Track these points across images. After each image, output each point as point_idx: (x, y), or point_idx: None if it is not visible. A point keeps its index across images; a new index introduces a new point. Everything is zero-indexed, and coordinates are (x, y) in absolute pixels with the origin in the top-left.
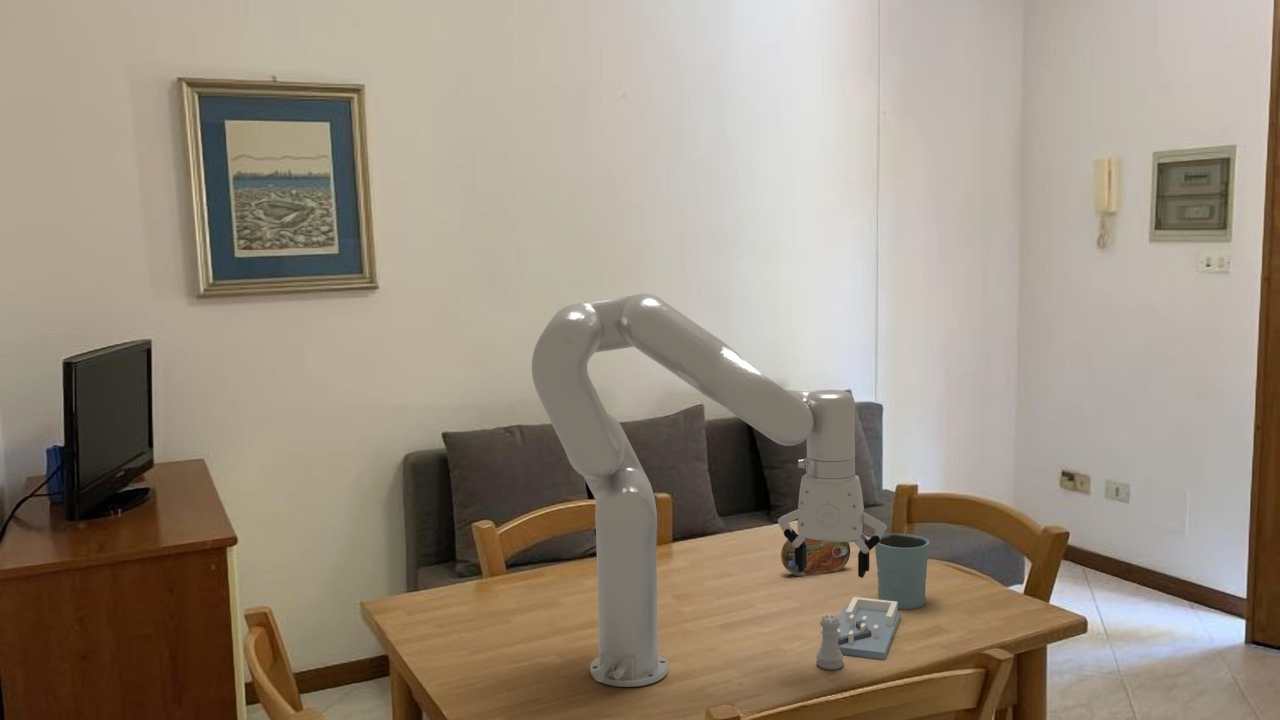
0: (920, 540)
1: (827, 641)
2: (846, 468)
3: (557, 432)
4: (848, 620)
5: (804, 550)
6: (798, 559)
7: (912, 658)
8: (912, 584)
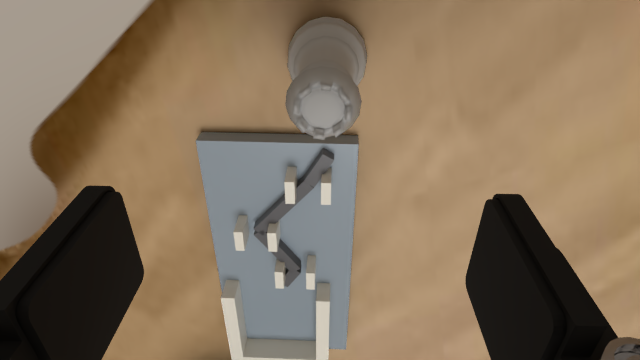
0: None
1: (329, 59)
2: None
3: None
4: (323, 285)
5: (518, 349)
6: (553, 250)
7: (143, 158)
8: None
